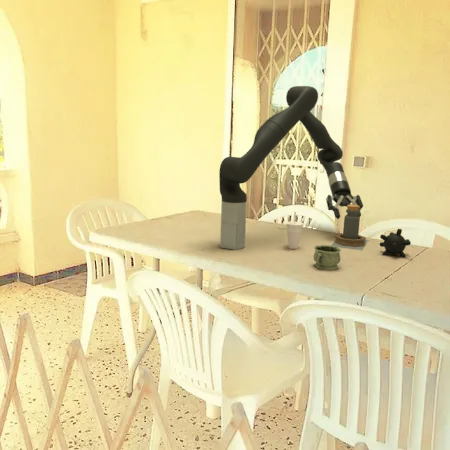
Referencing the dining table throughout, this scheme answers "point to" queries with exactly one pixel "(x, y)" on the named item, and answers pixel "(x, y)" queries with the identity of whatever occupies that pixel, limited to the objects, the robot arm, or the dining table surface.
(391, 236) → the toy ball
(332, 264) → the vessel
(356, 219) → the bottle
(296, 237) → the smoothie
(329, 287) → the dining table surface
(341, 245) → the mat
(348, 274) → the dining table surface
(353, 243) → the ring
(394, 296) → the dining table surface
